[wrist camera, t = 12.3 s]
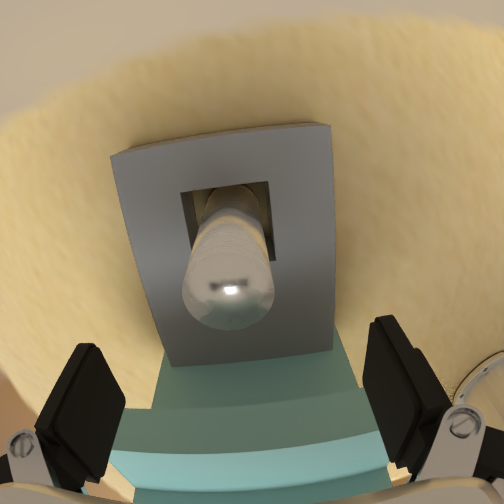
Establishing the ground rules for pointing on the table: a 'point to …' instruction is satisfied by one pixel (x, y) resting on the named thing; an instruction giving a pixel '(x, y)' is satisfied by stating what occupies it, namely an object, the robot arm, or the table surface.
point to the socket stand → (245, 335)
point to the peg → (229, 263)
